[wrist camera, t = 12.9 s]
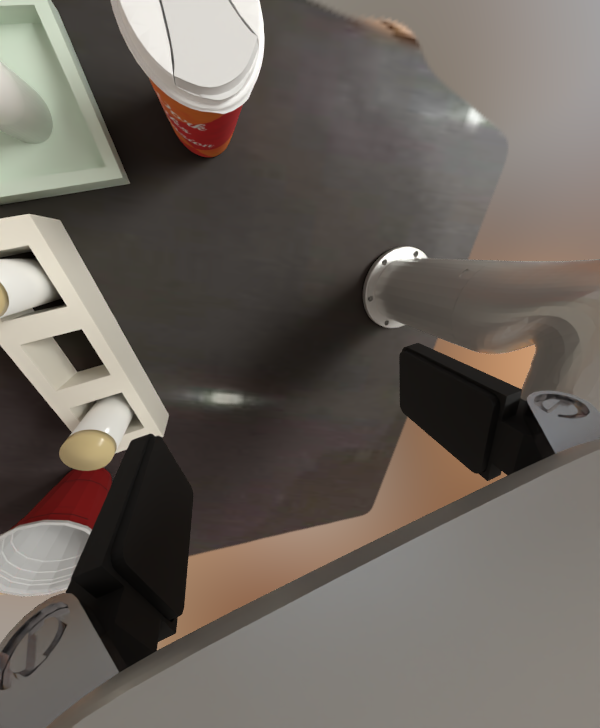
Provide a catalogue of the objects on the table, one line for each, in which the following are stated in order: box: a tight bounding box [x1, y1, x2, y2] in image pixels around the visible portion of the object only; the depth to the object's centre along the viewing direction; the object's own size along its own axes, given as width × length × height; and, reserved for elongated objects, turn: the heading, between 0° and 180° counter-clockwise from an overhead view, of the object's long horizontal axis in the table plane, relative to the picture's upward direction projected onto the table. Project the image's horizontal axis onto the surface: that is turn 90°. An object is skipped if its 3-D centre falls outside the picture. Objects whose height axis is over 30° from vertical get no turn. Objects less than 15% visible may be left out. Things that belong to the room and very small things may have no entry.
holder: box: [0, 214, 169, 453], centre depth 29 cm, size 8×26×5 cm, turn 12°
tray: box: [0, 0, 130, 205], centre depth 21 cm, size 12×12×2 cm
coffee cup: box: [111, 0, 264, 157], centre depth 20 cm, size 8×8×15 cm
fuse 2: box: [59, 392, 135, 471], centre depth 30 cm, size 4×4×11 cm
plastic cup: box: [0, 468, 112, 596], centre depth 33 cm, size 11×11×12 cm
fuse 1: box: [0, 258, 62, 318], centre depth 23 cm, size 4×4×11 cm
